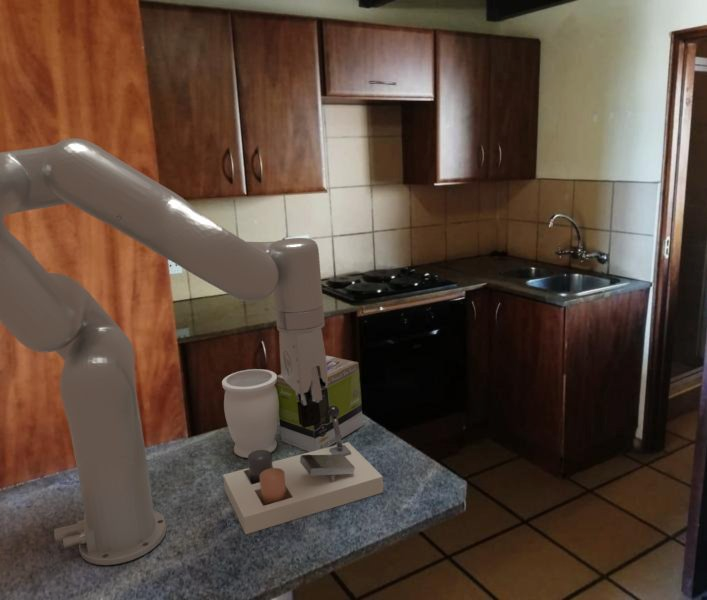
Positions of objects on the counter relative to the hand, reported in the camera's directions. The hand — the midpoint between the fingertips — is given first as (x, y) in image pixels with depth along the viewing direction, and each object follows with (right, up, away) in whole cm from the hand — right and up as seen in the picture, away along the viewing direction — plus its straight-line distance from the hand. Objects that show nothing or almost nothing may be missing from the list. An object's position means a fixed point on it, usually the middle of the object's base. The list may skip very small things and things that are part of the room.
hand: (310, 423), depth 97 cm
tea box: (+1, -8, +25) cm, 26 cm away
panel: (-2, -13, +4) cm, 13 cm away
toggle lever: (+5, -6, +11) cm, 13 cm away
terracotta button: (-6, -12, -1) cm, 14 cm away
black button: (-9, -11, +5) cm, 15 cm away
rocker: (+3, -8, +3) cm, 9 cm away
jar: (-12, -9, +20) cm, 25 cm away
